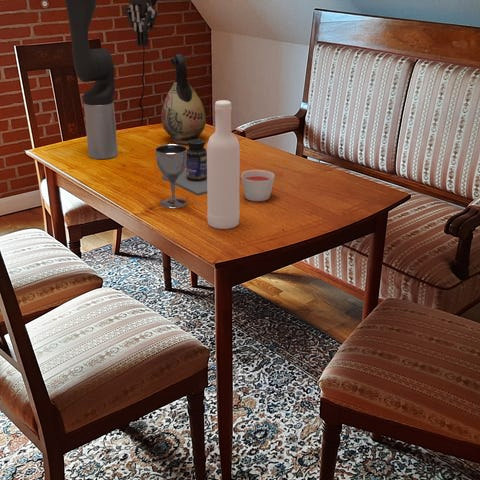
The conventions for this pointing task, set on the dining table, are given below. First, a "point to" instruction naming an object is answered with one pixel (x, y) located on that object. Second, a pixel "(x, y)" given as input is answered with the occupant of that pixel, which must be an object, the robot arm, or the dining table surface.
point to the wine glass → (172, 169)
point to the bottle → (223, 171)
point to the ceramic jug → (182, 107)
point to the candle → (257, 184)
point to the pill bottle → (196, 160)
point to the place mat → (191, 184)
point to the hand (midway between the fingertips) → (142, 45)
